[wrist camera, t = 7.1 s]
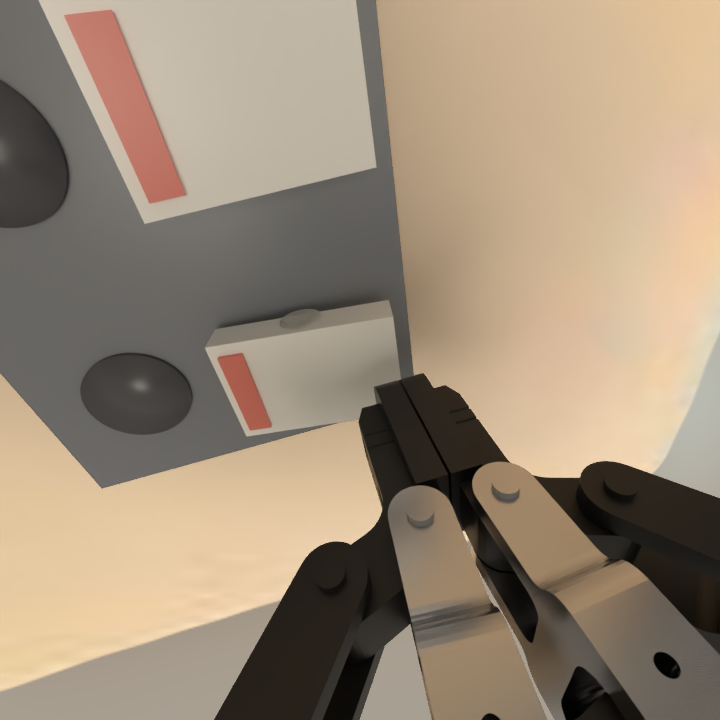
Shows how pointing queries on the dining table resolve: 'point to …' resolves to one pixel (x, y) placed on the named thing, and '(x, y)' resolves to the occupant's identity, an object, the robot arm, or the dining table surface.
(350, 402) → the rocker
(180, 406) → the grey control panel
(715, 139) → the dining table surface
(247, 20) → the rocker
